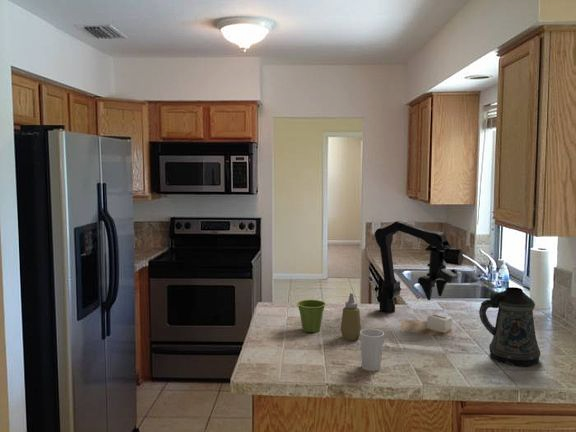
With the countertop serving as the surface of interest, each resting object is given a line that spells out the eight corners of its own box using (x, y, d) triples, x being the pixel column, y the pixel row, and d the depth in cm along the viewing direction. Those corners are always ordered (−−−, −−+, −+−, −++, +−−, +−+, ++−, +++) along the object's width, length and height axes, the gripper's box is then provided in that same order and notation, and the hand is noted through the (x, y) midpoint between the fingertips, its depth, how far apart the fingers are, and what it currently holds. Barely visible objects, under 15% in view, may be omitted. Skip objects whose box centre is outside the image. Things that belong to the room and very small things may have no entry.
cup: (356, 362, 172) (357, 329, 171) (379, 362, 173) (380, 328, 171) (362, 372, 164) (363, 337, 163) (386, 371, 165) (386, 336, 163)
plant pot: (329, 327, 209) (329, 301, 207) (319, 336, 198) (319, 308, 197) (303, 323, 213) (303, 298, 212) (292, 332, 203) (292, 305, 202)
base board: (400, 335, 199) (400, 332, 199) (401, 323, 214) (401, 320, 214) (453, 340, 194) (453, 336, 194) (450, 327, 210) (450, 323, 209)
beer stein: (551, 364, 171) (555, 293, 169) (503, 371, 166) (507, 297, 163) (516, 347, 187) (519, 282, 184) (471, 352, 182) (474, 285, 179)
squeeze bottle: (362, 336, 198) (363, 291, 196) (358, 343, 191) (359, 297, 189) (342, 334, 201) (343, 290, 199) (338, 340, 193) (338, 295, 191)
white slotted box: (444, 332, 198) (445, 320, 198) (427, 328, 204) (427, 315, 203) (451, 329, 202) (452, 316, 202) (433, 325, 208) (434, 312, 207)
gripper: (442, 268, 198) (440, 306, 200) (465, 262, 211) (462, 298, 213) (418, 263, 206) (416, 300, 208) (440, 258, 219) (439, 292, 221)
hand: (434, 298), depth 213 cm, fingers open, 9 cm apart
